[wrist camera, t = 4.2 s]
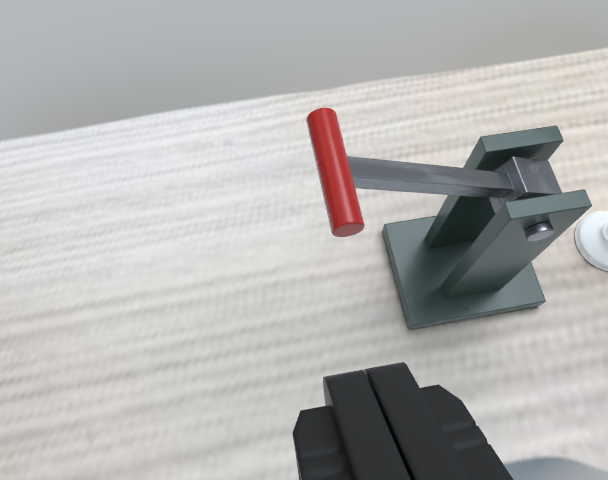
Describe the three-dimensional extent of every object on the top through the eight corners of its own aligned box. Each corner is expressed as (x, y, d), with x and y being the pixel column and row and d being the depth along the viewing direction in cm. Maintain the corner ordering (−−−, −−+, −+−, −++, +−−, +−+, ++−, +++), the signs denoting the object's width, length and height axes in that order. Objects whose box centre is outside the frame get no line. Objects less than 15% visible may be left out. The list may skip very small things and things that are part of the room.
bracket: (408, 330, 40) (466, 255, 27) (381, 230, 43) (422, 120, 30) (539, 306, 41) (656, 223, 28) (504, 210, 44) (594, 95, 31)
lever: (321, 242, 25) (347, 216, 23) (296, 130, 27) (319, 98, 25) (541, 245, 31) (576, 226, 29) (506, 155, 34) (537, 131, 32)
